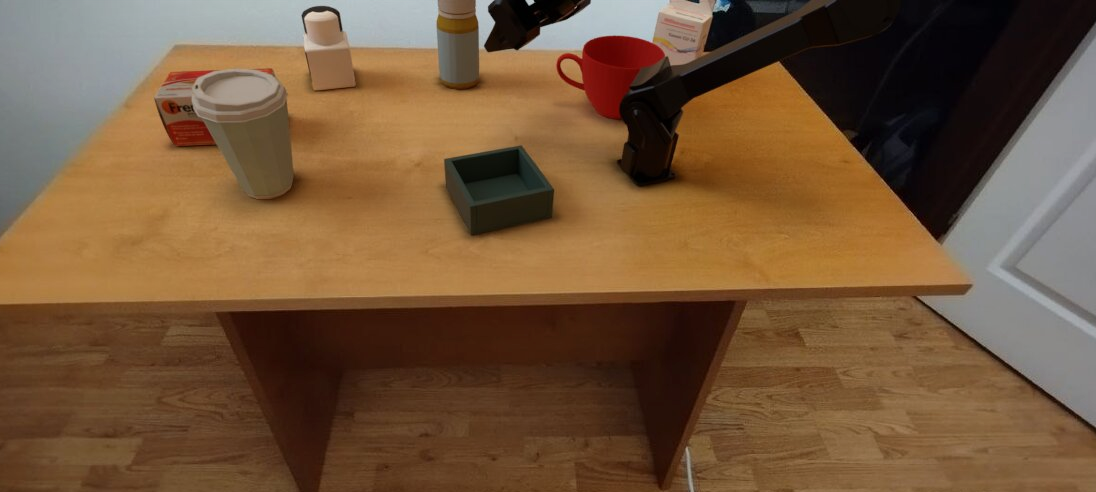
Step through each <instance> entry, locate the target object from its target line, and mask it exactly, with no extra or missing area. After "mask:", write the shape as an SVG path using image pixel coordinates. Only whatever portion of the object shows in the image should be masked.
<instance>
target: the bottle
mask: <svg viewBox="0 0 1096 492" xmlns="http://www.w3.org/2000/svg"><path fill="white" fill-rule="evenodd" d="M476 7H477V0H437V12H438V14H437V19H436V39H437V57H438V58H437V59H438V73H439V80H440V82H441V83H442V84H443V85H444V86H445V87H447V88H449V89H453V90H454V89H455V90H465V89H470V88H473V87H474V86H475V85H477V84H478V82H479V80H480V32H479V31H480V29H479V27H480V26H479V20H478V17H477V15H476V14H477V13H476V12H477V8H476Z"/></svg>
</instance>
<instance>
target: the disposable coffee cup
mask: <svg viewBox="0 0 1096 492" xmlns="http://www.w3.org/2000/svg"><path fill="white" fill-rule="evenodd" d="M253 69H254V68H237V67H235V68H228V69H218V70H219V71H213V72H211V73H208V74H206V75H203V76H201V77H199V78H197V80H196V81H195V83H194V85H193V86H192V91H193V93H194V94H193V96H192V104H193V109H194V111H195V112H196V114H197V115H198V117H201V118H202V119H203V121H204V123H205V124H206V126H207V128H208V130H209V132H210V133H211V135H212V137H213V139H214V140H215V142H216V144H215V145H216V146H217V147H218V149H219V151H220V153H221V155H222V156H223V158H224V160H225V162H226V163H227V165H228V167H229V169H230V171H231V172H232V174H233V176H234V178H235V179H236V181H237V183H238V185H239V186H240V188H241V189H242V191H243V193H244V194H245V193H246V195H247V196H248V197H250V198H254V199H256V200H271V199H275V198H278V197H281V196H283V195H284V194H286V193H287V192H288V191H290V190H291V188H292V185H293V182H294V178H295V174H294V163H293V162H294V161H293V153H292V152H293V151H292V143H291V141H292V140H291V130H290V121H289V120H290V119H289V118H290V117H289V110H288V95H289V94H288V92H287V89H286V87H285V85H283V83H282V81H280V80H279V78H277V76H275V77H274V76H273V75H271V74H267V73H264V72H261V71H258V70H253Z"/></svg>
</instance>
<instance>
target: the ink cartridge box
mask: <svg viewBox="0 0 1096 492" xmlns="http://www.w3.org/2000/svg"><path fill="white" fill-rule="evenodd" d="M716 1H717V0H699V3H697V2H693V1H689V0H669V3H668V4H667V5H666V6H664V7H663V8H662V9H660V10H659V11H658V14H657V18H656V21H655V22H656V23H655V27H654V33H653V36H652V41H651V43H653V44H655V45H657V46H658V47H660V48H661V49H662V50H663V52H664V54H665V57H666V56H668V58H669V61H670V65H682V64H686V63H689V62H691V61H693V60H695V59H697V58H699V57H701V56H703V54H704V50H705V46H706V44H707V39H708V35H709V32H710V28H711V25H712V20H713V19H714V15H713V13H714V9H715V4H716Z"/></svg>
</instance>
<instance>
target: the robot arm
mask: <svg viewBox="0 0 1096 492" xmlns="http://www.w3.org/2000/svg"><path fill="white" fill-rule="evenodd" d="M591 3H592V0H533V3H531V4H529V3H528V1H527V0H493V1H491V2H490V4H488V6H487V13H488V14H489V15H490V17H491V19H492V20H493V22H494V25H493V27H492V29H491V31H490V33H489V35H488V37H487V39H486V41H485V42H484V44H483V47H484V49H485V51H486V52H487V53H495V52H501V51H506V50H508V51H509V50H515V51H519V50H521V49H522V48H524V47H525V46H527V45H528V44H530V43H531V42H532V41H534V40H535V39H536V38H538V37H539V36H540V35H541V28H543V27H547V26H550V25H553V24H557V23H562V22H563V21H568V19H570V18H572V17H574V16H576V15H577V14H579V13H580V12H582V11H584V9H586V8H587V7H588V6H589V5H591ZM901 5H902V0H809V1H808V2H807V3H806V4H805V5H803V6H801V7H800V8H799V9H798V10H796V11H795V10H794V11H793V12H791V13H789V14H787V15H785V16H783V17H781V18H779V19H777V20H774V21H772V22H770V23H768V24H766V25H764V26H762V27H760V28H758V29H756V30H754V31H752V32H749V33H748V34H746V35H744V36H741V37H739V38H736V39H735V40H733V41H731V42H729V43H726V44H724V45H722V46H720V47H718V48H716V49H714V50H712V51H710V52H707V53H706V54H704V55H702V56H701V57H699V58H697V59H695V60H693V61H691V62H689V63H686V64H682V65H670V61H669V58H668V56H666V57H664V58H663V59H661V60H660V61H659V62H657V63H656V64H654V65H652V66H649V67H642V68H641V69H640V71H639V73H638V74H637V76H636V77H635V79H634V80H633V82H632V84H631V85H630V87H629V88H628V90H627V92H626V93H625V95H624V96H623V98H622V100H621V102H620V105H619V113H620V116H621V119H620V120H622V122H623V123H624V124H625V125H626V128H627V139H626V141H625V142H624V144H623V149H622V154H621V158H619V159H617V160H616V165H617V166H618V167H619V168H620V170H621V171H623V172H624V174H625V175H626V176H627V177H628V178H629V179H630V180H631V181H632V182H633V183H634V184H635V185H636V186H638V187H641V186H647V185H651V184H655V183H661V182H665V181H666V182H667V181H670V180H674V179H676V178H677V174H676V172H675V171H673V170H672V165H673V160H674V156H675V152H676V148H677V144H678V140H679V137H680V135H679V133H678V132H676V131H677V128H678V126H679V125H680V121H681V119H682V117H683V115H684V109H683V107H684V106H686V105H687V104H688V103H689V102H691V101H692V100H693V99H695V98H697V97H700V96H703V95H705V94H707V93H709V92H712V91H714V90H716V89H718V88H721V87H723V86H726V85H728V84H730V83H732V82H735V81H737V80H739V79H742V78H744V77H746V76H748V75H751V74H753V73H755V72H758V71H760V70H762V69H764V68H767V67H769V66H771V65H774V64H777V63H778V62H780V61H783V60H785V59H788V58H790V57H793V56H794V55H797V54H799V53H802V52H804V51H806V50H809V49H814V48H822V47H823V48H824V47H833V46H834V47H835V46H841V45H842V46H843V45H845V44H851V43H854V42H857V41H860V40H865V39H868V38H871V37H875V36H877V35H879V34H881V33H882V32H884V31H886V30H887V29H888V28H890V27H891V26H892V24H893V22H894V21H895V19H896V17H897V16H898V14H899V13H900V9H901Z"/></svg>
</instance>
